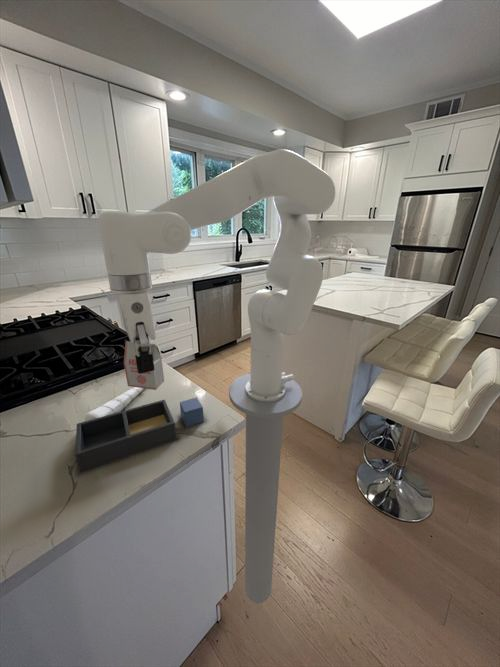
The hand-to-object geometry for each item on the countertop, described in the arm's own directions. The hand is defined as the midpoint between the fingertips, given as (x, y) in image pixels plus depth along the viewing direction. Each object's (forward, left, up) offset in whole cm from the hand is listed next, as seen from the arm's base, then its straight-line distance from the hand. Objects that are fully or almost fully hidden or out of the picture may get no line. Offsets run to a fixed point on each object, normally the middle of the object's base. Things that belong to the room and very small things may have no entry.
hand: (143, 362), depth 60 cm
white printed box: (0, 0, -5) cm, 5 cm away
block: (-9, +1, -18) cm, 21 cm away
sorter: (+6, +1, -18) cm, 19 cm away
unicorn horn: (+5, -14, -18) cm, 24 cm away
